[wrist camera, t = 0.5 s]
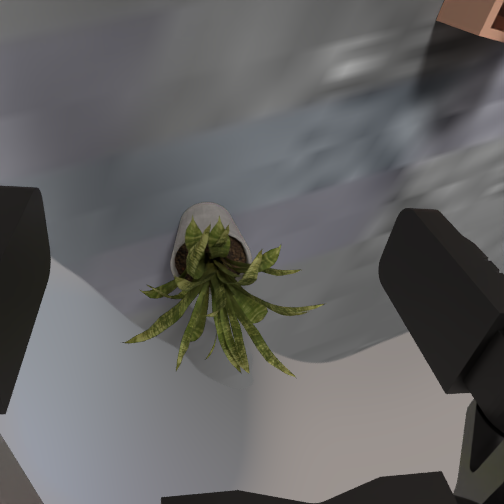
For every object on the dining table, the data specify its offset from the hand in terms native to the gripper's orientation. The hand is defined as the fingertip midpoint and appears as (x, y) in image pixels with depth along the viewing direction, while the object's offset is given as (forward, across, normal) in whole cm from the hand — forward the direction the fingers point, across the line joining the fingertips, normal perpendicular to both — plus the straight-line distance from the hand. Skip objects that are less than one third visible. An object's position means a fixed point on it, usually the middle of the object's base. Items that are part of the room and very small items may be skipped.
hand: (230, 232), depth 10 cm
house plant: (+28, -4, +18) cm, 34 cm away
